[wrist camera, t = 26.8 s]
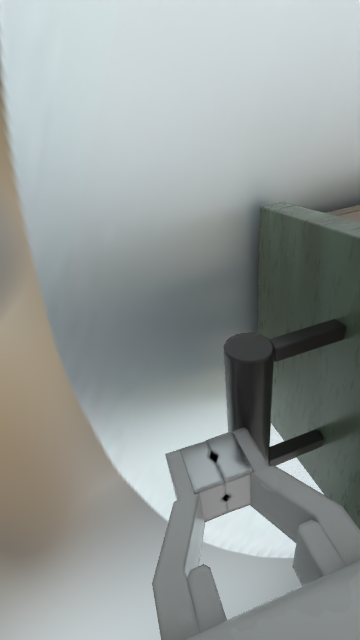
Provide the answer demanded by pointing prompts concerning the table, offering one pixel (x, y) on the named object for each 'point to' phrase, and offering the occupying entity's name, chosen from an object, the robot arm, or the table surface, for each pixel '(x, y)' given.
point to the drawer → (304, 348)
